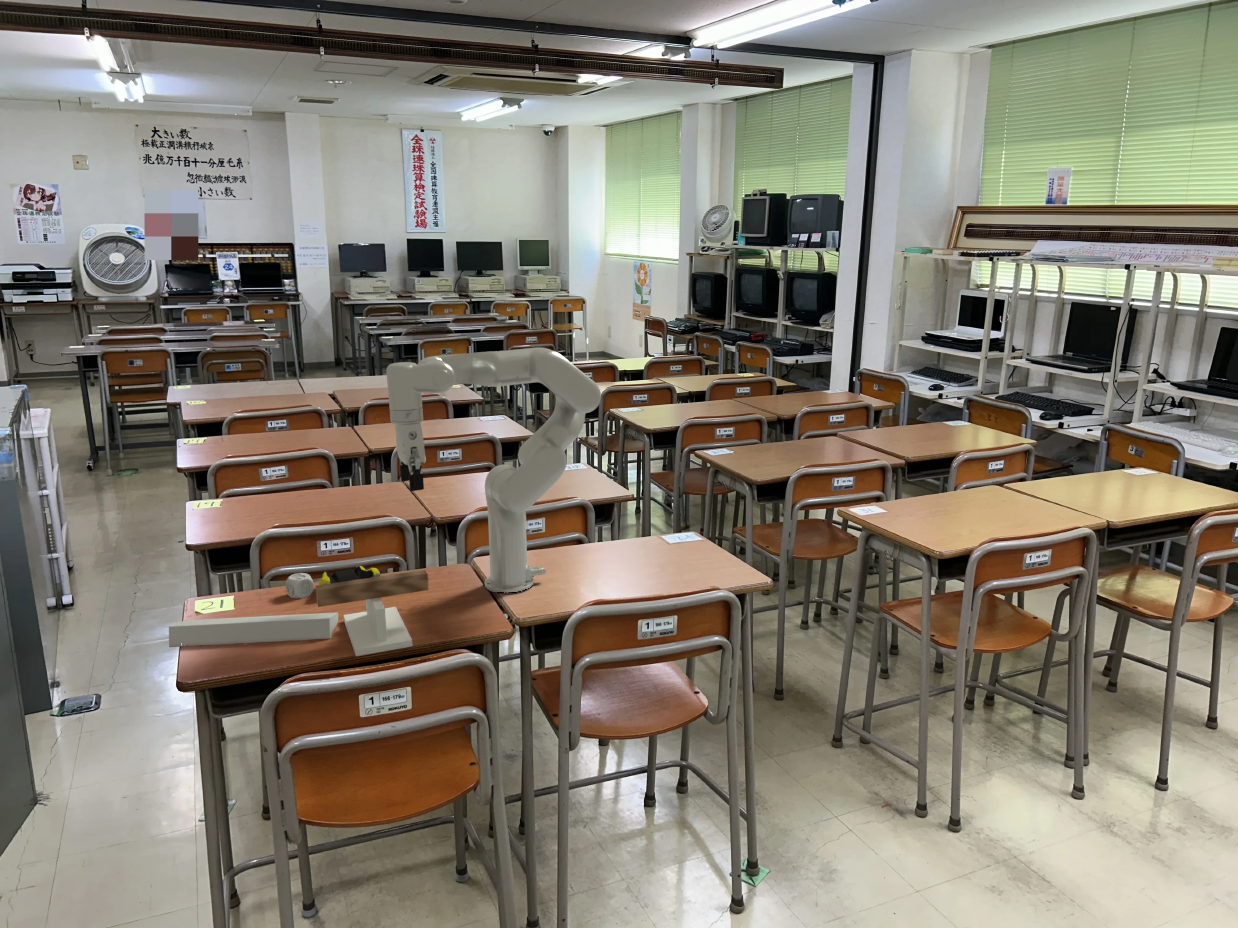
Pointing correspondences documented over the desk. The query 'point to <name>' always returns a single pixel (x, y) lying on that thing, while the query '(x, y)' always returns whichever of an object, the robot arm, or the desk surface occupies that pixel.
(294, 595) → the die
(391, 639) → the stand
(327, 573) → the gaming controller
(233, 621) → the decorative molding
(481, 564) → the desk surface
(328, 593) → the walnut batten
